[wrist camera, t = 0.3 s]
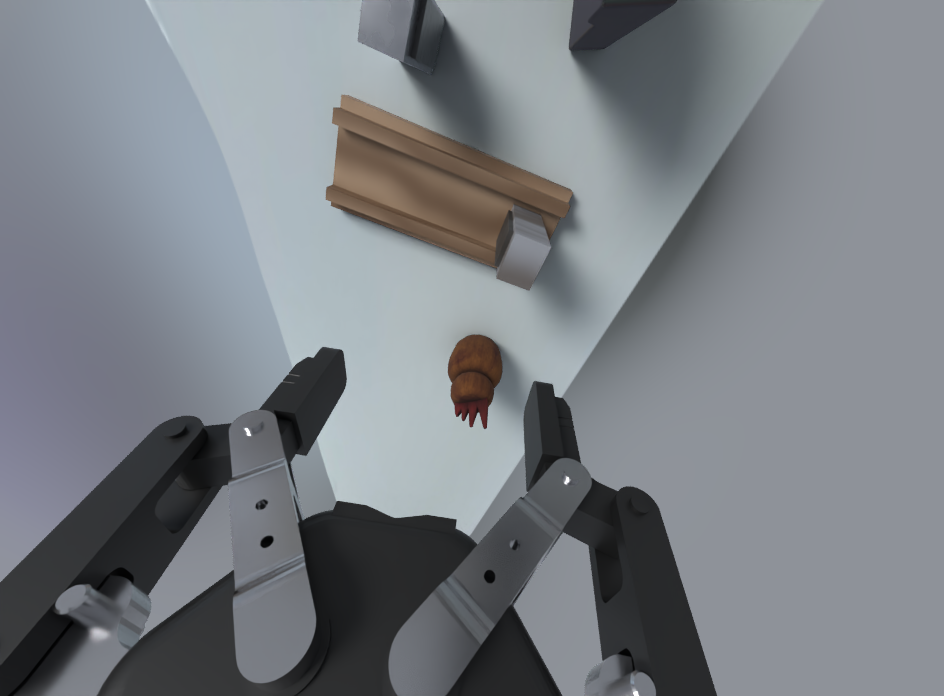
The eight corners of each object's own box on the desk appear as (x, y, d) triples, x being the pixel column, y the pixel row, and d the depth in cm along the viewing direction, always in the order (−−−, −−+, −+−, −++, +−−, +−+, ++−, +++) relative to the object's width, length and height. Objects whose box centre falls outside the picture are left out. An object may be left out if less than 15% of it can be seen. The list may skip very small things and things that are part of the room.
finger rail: (348, 95, 31) (279, 88, 22) (570, 189, 34) (594, 219, 25) (336, 202, 37) (278, 234, 27) (528, 275, 40) (535, 326, 30)
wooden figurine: (505, 332, 45) (504, 415, 32) (499, 365, 48) (496, 452, 36) (455, 325, 45) (435, 405, 32) (452, 359, 48) (433, 443, 36)
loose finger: (409, -1, 27) (367, -49, 19) (449, 18, 28) (424, -21, 19) (398, 60, 29) (357, 41, 21) (435, 76, 30) (409, 64, 22)
